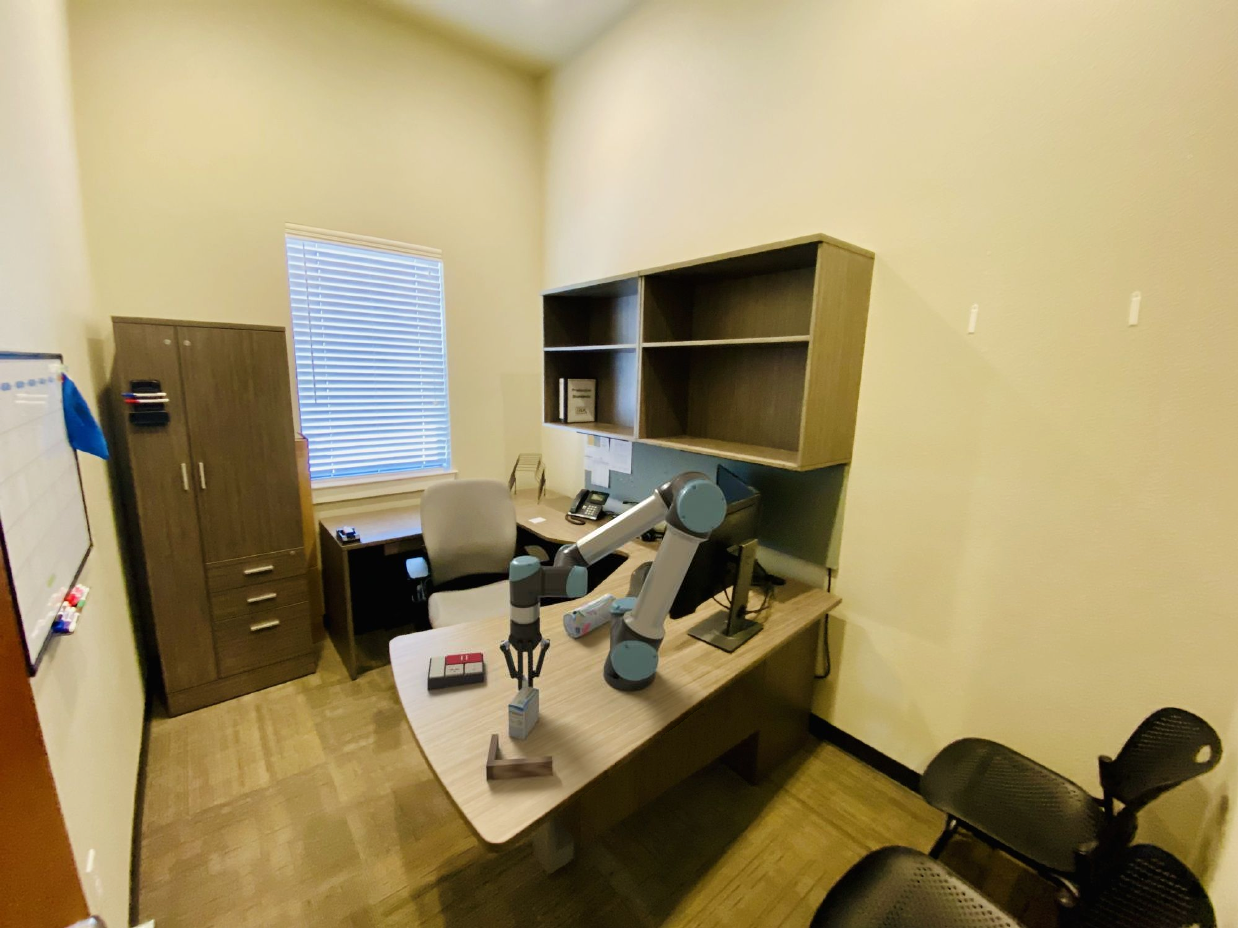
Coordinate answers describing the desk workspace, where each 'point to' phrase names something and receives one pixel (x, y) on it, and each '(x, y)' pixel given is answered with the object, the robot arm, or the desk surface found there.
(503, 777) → the corner fence
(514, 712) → the medicine box
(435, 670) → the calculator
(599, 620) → the pencil case
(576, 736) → the desk surface
